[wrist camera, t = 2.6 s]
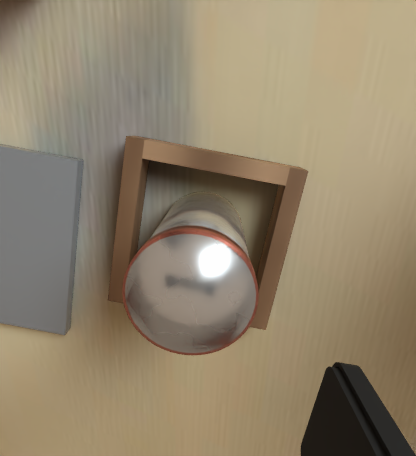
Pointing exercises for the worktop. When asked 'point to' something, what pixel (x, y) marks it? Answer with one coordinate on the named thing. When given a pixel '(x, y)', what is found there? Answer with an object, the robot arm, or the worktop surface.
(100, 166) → the worktop surface
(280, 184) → the pocket frame
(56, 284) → the plate
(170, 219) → the spice tin
